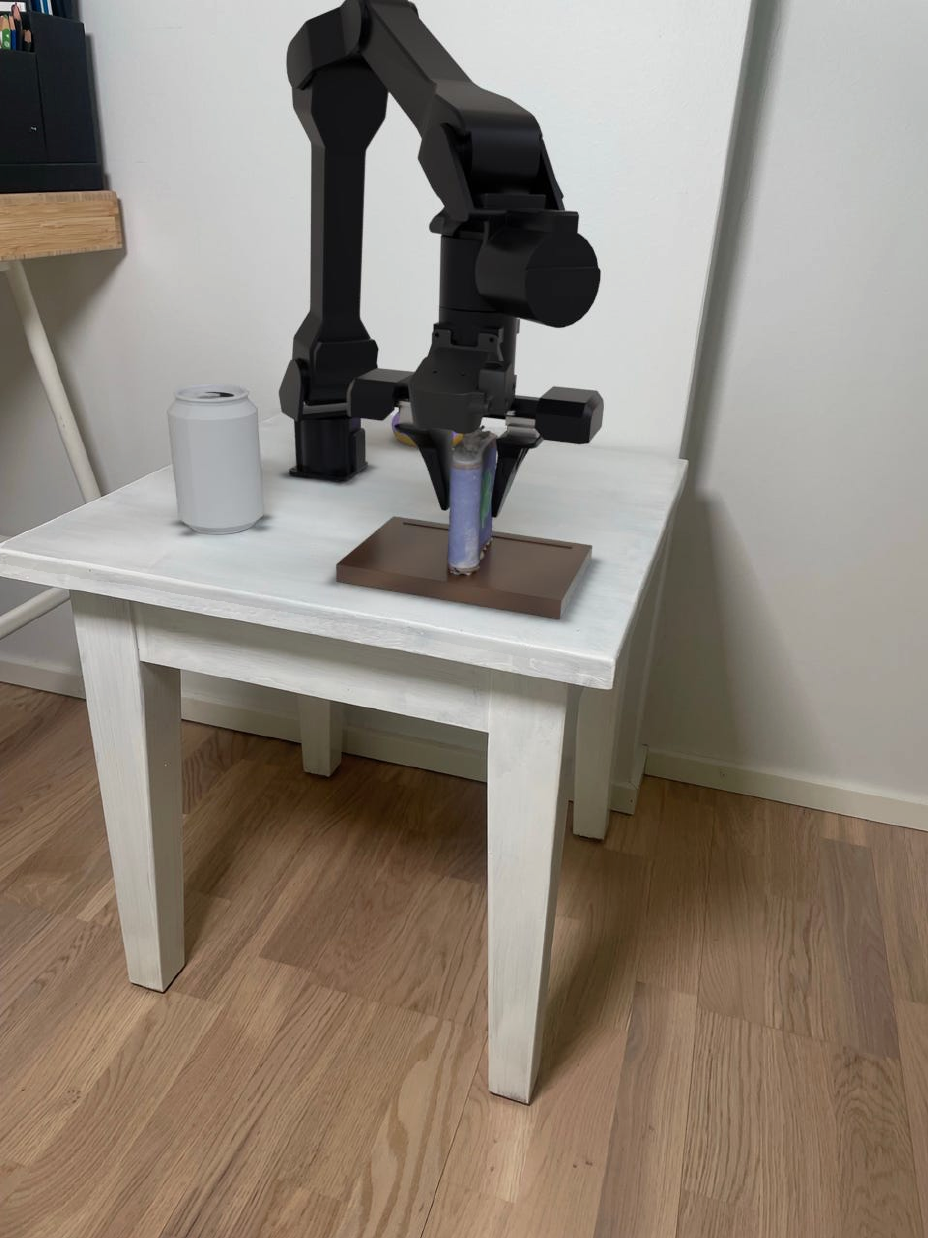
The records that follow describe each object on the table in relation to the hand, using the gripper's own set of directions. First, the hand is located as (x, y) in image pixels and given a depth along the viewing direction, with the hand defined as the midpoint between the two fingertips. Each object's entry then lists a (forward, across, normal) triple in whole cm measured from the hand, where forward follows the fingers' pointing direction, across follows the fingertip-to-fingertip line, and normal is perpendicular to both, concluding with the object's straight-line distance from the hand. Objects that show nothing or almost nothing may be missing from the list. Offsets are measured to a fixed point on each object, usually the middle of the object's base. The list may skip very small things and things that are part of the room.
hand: (470, 512), depth 73 cm
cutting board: (+5, 0, 0) cm, 5 cm away
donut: (+5, -16, +36) cm, 40 cm away
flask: (+4, 0, 0) cm, 4 cm away
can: (+5, -24, +2) cm, 25 cm away
